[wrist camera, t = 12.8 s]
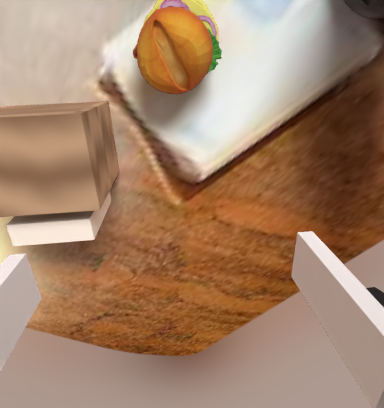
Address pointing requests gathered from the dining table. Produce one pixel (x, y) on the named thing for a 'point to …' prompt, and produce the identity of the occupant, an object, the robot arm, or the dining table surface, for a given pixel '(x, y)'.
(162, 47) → the cheeseburger
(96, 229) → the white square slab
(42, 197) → the cabinet
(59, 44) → the dining table surface
